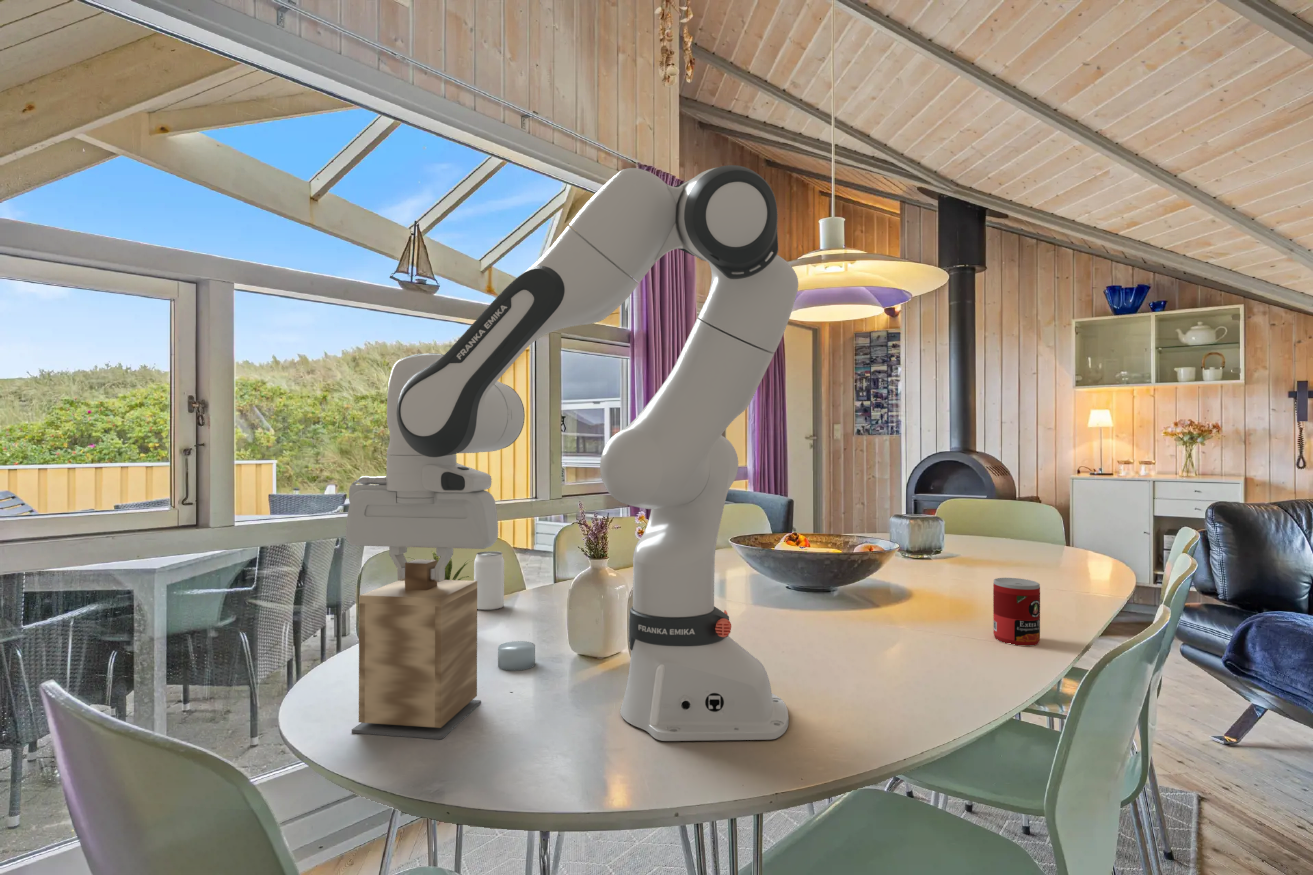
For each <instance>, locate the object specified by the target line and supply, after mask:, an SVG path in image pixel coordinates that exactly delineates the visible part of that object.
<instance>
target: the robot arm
mask: <svg viewBox="0 0 1313 875" xmlns="http://www.w3.org/2000/svg"><path fill="white" fill-rule="evenodd" d="M776 200H777V199H776V196H775V194H774V191H773V189H772V188H771V186H770V185H769V183H768V182H767V181H766V179H764V178H763V177H762V176H761V175H760V174H759V173H757V172H755V171H754V170H753V169H751V168H748V167H745V166H741V165H734V164H728V165H723V166H718V167H713V168H709V169H707V170H705V171H702V172H700V173H698V174H697V175H696V176H694V177H693V178H691V179H688V180H687V181H685V182H682V183H679V184H677V185H675V186H674V185H673V186H672V185H670V184H667V183H666V182H665V181H664V180H663V179H661V178H660V177H659V176H657V175H656V174H654V173H652V172H651V171H649V170H645V169H643V168H637V167H630V168H629V167H627V168H624V169H622V170H620V171H619V172H617V173H616V174H614V175H613V176H612V178H610V179H609V180H608V181H606V183H605V184H603V185H602V187H601V188H600V189H598V190H597V192H595V193H594V194H593V195H592V196H591V197H590V199H589V200H587V202H586V203H585V204H584V205H583V207H581V209H580V210H579V211H578V212H577V213H576V215H575V216H574V218H573V219H572V220H571V221H570V222H569V224H568V225H567V226H566V227H565V229H564V230H563V231H562V233H560V235H559V236H558V238H557V239H556V240H555V241H554V242H553V243H552V245H551V246H550V247H549V248H548V249H547V250H546V251H545V252H544V253H543V255H541V257H539V259H538V260H537V261H535V262H534V263H533V264H532V265H531V266H530V267H529V268H528V269H526V270H525V271H523V272H522V273H521V274H520V275H518V276H517V277H516V278H515V279H513V281H512V282H510V284H508V285H507V286H506V287H505V288H504V289H503V290H502V291H501V292H500V293H499V294H498V296H496V297H495V299H494V300H493V301H492V302H491V303H490V304H489V305H488V307H486V308H485V310H484V311H483V312H482V313H481V314H480V315H479V316H478V318H477V319H475V321H474V322H473V323H472V324H471V325H470V326H469V327H468V328H467V329H466V331H465V332H464V333H463V334H462V335H461V336H460V337H459V338H458V340H457V341H456V342H455V343H454V344H453V345H452V346H451V347H450V348H449V350H447V351H446V352H445V354H442V353H435V352H432V353H431V352H429V353H417V354H412V355H408V356H405V357H403V358H400V359H399V360H397V361H396V362H395V363H394V364H393V367H392V369H391V372H390V376H389V380H388V386H387V398H386V423H387V427H388V431H389V443H388V446H387V449H386V475H385V476H383V475H382V476H380V475H379V476H368V475H365V476H360V477H359V478H358V479H357V480H354V481H353V482H352V483H351V485H350V486H349V489H348V501H349V504H348V510H347V515H346V525H345V540H347V541H348V543H349V544H350V546H353V547H356V546H358V547H387V548H388V547H389V550H388V553H389V554H388V555H389V557H390V559H391V561H392V563H393V564H394V566H395V567H396V569H397V581H405V563H407V562H408V561H407V559H406V556H405V554H407V552H408V548H433V549H436V552H435V553H436V555H437V556H439V558H440V559H439V561H438V563H437V564H436V566H435V567H433V568H430V569H429V575H430V576H429V581H430V582H442V581H444V579H445V567H446V566H447V564H448V562H449V560H450V559H452V558H453V555H454V549H466V550H467V549H469V550H470V549H471V550H485V549H487V548H490V547H492V546H493V545H494V544H495V543H496V542H497V541H498V536H499V523H498V522H499V519H498V512H497V511H498V510H497V504H496V499H495V498H494V496H493V495H492V494H491V492H489V491H487V490H489V489H490V488H491V487H492V483H493V481H492V480H493V478H492V476H491V475H490V474H489V473H487V472H484V471H481V470H478V469H476V468H472V467H469V466H467V465H463V464H461V463H458V462H457V454H477V453H478V454H479V453H492V452H497V451H500V450H502V449H505V448H507V447H510V446H511V445H512V444H514V443H515V442H516V441H517V439H519V436H520V435H521V433H522V431H523V428H524V425H525V417H526V416H525V413H526V412H525V407H524V404H523V401H522V398H521V397H520V395H519V393H517V391H516V390H515V389H514V388H512V387H511V386H509V385H507V384H505V383H503V382H501V381H499V380H500V378H502V376H503V375H504V374H505V373H506V372H507V371H508V369H509V368H511V366H512V365H513V364H514V363H515V362H516V361H517V359H518V358H519V357H521V355H522V354H523V353H525V352H524V351H526V350H527V348H529V346H531V345H532V344H533V343H534V342H536V341H537V340H539V339H540V338H541V337H544V336H546V335H547V334H550V333H552V332H555V331H559V330H562V329H566V328H571V327H577V326H578V327H579V326H583V325H593V324H595V323H599V322H601V321H604V320H606V319H607V318H608V317H609V316H610V315H611V314H613V313H614V312H615V311H616V310H617V309H618V308H620V307H621V306H622V305H623V304H624V303H625V302H626V300H628V299H629V297H630V296H631V294H633V292H634V291H635V289H636V288H637V287H638V286H639V283H641V282H642V281H643V279H644V278H645V276H646V275H647V274H648V273H649V271H650V270H651V269H652V267H653V266H654V265H655V264H656V263H657V262H658V261H659V260H660V259H661V258H662V257H663V256H665V255H666V254H668V253H670V252H671V251H673V250H679V251H682V252H685V253H687V254H689V255H691V256H693V257H695V258H697V259H699V260H702V261H704V262H707V263H708V265H709V267H710V272H711V273H710V274H711V282H710V287H709V290H708V295H707V298H706V299H705V301H704V302H703V305H702V308H701V309H700V311H699V313H698V315H697V318H696V320H695V322H694V324H693V326H692V329H691V331H690V333H689V335H688V337H687V339H686V341H685V343H684V345H683V347H682V350H681V352H680V354H679V356H678V357H677V360H676V362H675V364H674V366H673V367H672V369H671V371H670V373H669V374H668V376H667V378H666V379H665V380H664V382H663V383H662V385H661V386H660V387H659V389H658V390H657V391H656V393H655V394H654V395H653V397H652V398H651V399H650V400H649V401H648V403H647V404H646V405H645V406H644V408H643V409H642V410H641V411H640V412H639V414H638V415H637V416H636V417H635V418H634V419H633V420H632V421H631V422H630V423H629V424H628V425H627V426H626V427H624V428H622V430H620V431H618V432H617V433H615V434H613V436H612V437H611V438H610V439H609V440H608V441H607V442H606V445H604V447H603V450H602V452H601V455H600V462H599V469H600V471H599V472H600V478H601V480H602V483H603V485H604V488H605V489H606V490H607V493H608V494H609V495H610V496H611V497H612V498H613V499H615V500H616V501H618V502H619V503H621V504H624V505H627V506H632V507H635V508H640V509H645V510H646V509H647V510H650V513H649V518H648V521H647V524H646V528H645V529H644V532H643V534H642V535H641V537H640V538H639V540H637V543H636V544H635V548H634V549H633V555H632V557H633V558H632V559H633V560H632V564H633V565H632V606H631V607H630V609H629V615H628V642H629V650H630V659H629V660H630V661H629V669H628V676H627V682H626V688H625V692H624V696H623V699H622V702H621V706H620V711H619V712H620V716H621V717H622V718H623V719H624V720H625V722H627V723H628V724H631V726H634V727H636V728H638V729H641V730H644V731H646V732H647V733H649V735H650V736H651V737H653V738H654V739H656V740H658V741H662V742H681V741H684V742H685V741H690V742H691V741H695V742H696V741H746V740H747V741H749V740H750V741H752V740H753V741H756V740H757V741H758V740H761V741H762V740H763V741H764V740H766V741H767V740H775V739H778V738H780V737H781V736H783V735H784V734H785V733H786V731H787V730H788V727H789V720H790V719H789V710H788V707H787V705H786V702H784V700H783V699H781V697H779V696H778V695H776V694H775V693H773V692H772V688H771V682H770V678H769V675H768V673H767V669H766V668H765V666H764V664H763V663H762V662H761V661H760V660H759V659H758V658H757V657H755V656H754V655H753V654H751V652H749V651H747V649H745V648H744V647H742V646H741V645H740V644H739V643H738V642H736V641H735V640H734V639H733V638H731V637H730V634H731V633H732V632H731V631H732V623H731V622H730V616H729V615H728V612H727V610H725V609H724V611H723V610H721V609H719V608H718V607H716V606H715V566H716V565H715V563H716V562H715V561H716V550H717V548H716V547H717V541H718V535H719V532H720V526H721V521H722V517H723V513H724V508H725V504H726V500H727V496H728V494H729V491H730V488H731V487H732V485H733V484H734V482H735V480H736V478H737V475H738V471H739V457H738V454H737V451H736V449H735V447H734V445H733V444H732V442H731V441H730V440H729V439H728V438H726V437H725V436H723V433H724V432H725V430H727V428H728V427H729V425H730V424H732V423H733V421H735V420H736V418H737V417H739V416H740V415H741V414H743V413H744V412H745V411H746V410H747V409H748V407H749V406H750V404H751V402H752V400H753V398H754V396H755V394H756V392H757V390H758V388H759V386H760V384H761V381H762V380H763V378H764V376H765V374H766V372H767V370H768V368H769V366H770V364H771V362H772V360H773V359H774V358H773V357H774V355H775V353H776V352H777V349H778V347H779V345H780V343H781V340H782V338H783V336H784V334H785V331H786V328H787V326H788V323H789V321H790V320H789V319H790V317H791V315H792V311H793V308H794V304H795V302H796V297H797V294H798V289H799V278H798V275H797V273H796V271H795V270H794V268H793V267H792V266H791V264H789V262H788V261H787V260H786V259H785V258H783V257H781V256H780V255H778V253H779V240H778V239H779V238H778V217H779V216H778V205H777V201H776ZM358 483H359V484H358ZM440 556H441V557H440Z"/></svg>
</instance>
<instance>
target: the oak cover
mask: <svg viewBox="0 0 1313 875" xmlns="http://www.w3.org/2000/svg"><path fill="white" fill-rule="evenodd" d="M436 564H437V560H434V559H426V558H425V559H424V558H423V559H421V558H419V559H418V558H416V559H415V560H414V559H412V560H411V561H407V563H405V581H398V580H396V581H394V582H392V583H387V584H386V585H382V586H381V587H378V588H375V589H373V590H370V591H367V592H365V593H362V594H360V595H359V597H358V599H359V600H358V604H359V605H358V607H359V609H358V619H359V620H358V723H359V724H360V723H375V724H391V725H406V726H421V727H436V728H441V727H442V726H443V725H445V724H446V723H447V722H448V721H449V720H450V719H451V718H452V717H454V716H455V715H456V714H457V713H458V712H459V711H460V710H461V709H463V708H464V707H465V706H466V705H467V704H468V703H469V702H470V701H472V700H475V698H476V697H477V696H478V610H477V581H474V580H467V579H466V580H464V579H463V580H462V579H461V580H458V579H456V580H452V579H450V580H444V581H442V582H430V581H429V576H430V575H429V569H430V568H433V567H435V566H436Z"/></svg>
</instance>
